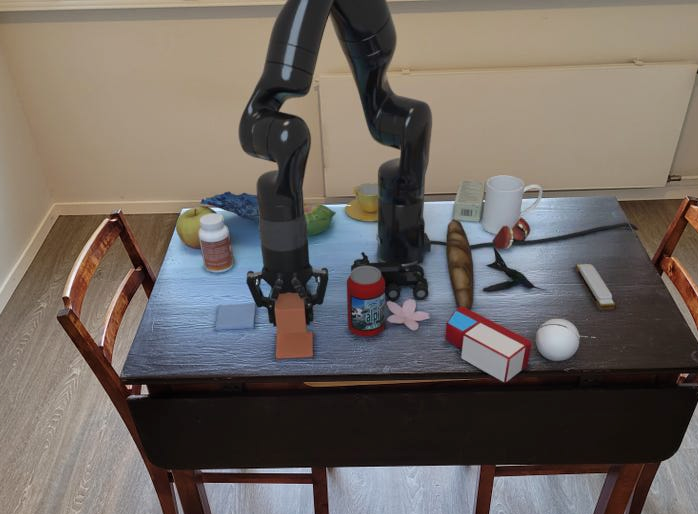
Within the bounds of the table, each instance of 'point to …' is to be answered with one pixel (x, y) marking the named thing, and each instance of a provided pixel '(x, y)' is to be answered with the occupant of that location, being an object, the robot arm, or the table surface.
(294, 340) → the terracotta mat
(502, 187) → the mug
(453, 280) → the bread
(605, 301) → the harmonica
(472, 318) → the toy truck
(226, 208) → the rock
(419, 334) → the table surface
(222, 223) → the pill bottle
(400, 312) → the flower
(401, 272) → the toy vehicle
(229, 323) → the slate-blue mat
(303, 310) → the terracotta block
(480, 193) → the cosmetic box
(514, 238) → the dentures model
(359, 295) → the beverage can
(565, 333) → the seamed sphere
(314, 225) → the educational model
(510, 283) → the bird model
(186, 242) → the apple
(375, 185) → the cup
